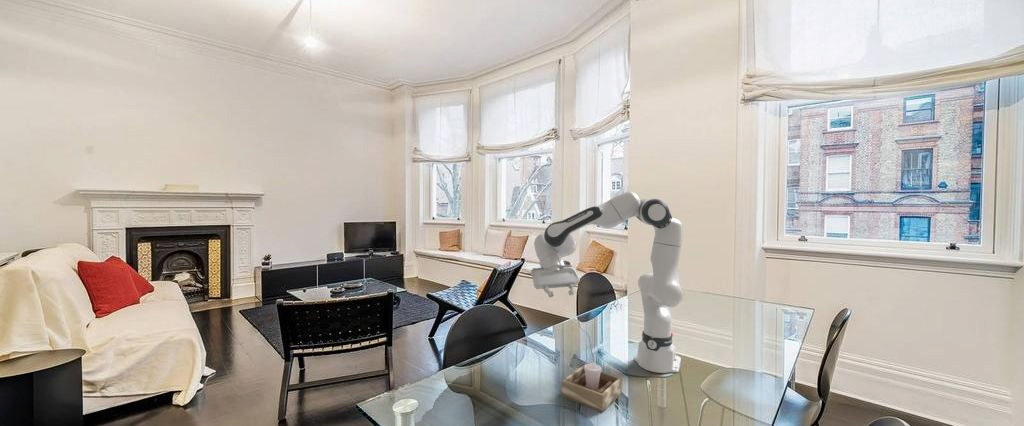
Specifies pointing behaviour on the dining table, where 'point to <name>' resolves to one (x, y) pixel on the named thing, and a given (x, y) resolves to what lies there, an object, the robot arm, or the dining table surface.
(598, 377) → the smoothie
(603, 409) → the open wooden box
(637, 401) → the dining table surface
